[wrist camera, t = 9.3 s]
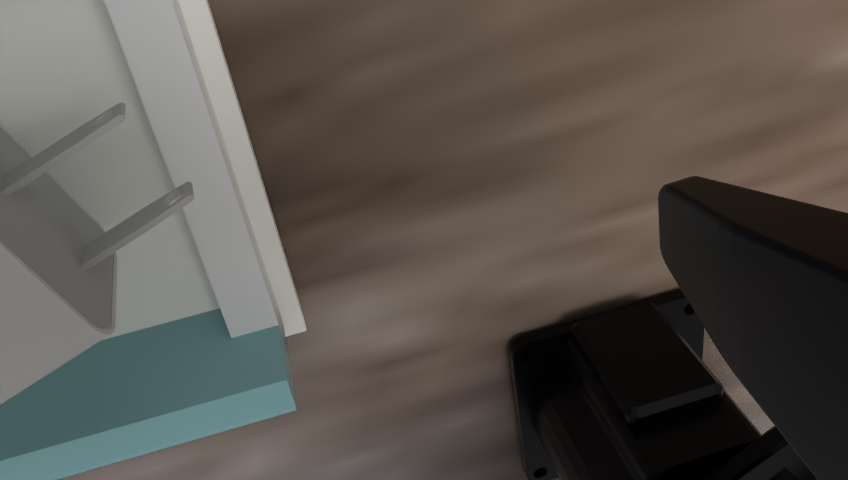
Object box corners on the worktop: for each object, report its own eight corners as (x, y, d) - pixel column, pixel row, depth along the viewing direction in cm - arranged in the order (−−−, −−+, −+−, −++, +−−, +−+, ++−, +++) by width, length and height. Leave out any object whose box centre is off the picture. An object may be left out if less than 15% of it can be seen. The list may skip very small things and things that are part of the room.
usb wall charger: (-198, 222, 16) (-283, 342, 13) (92, 35, 16) (82, 105, 12) (-41, 344, 18) (-79, 471, 15) (213, 181, 18) (231, 273, 15)
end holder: (304, 318, 23) (324, 418, 19) (-60, 417, 21) (-107, 544, 18) (148, -197, 15) (135, -182, 12) (-414, -91, 14) (-605, -41, 11)
